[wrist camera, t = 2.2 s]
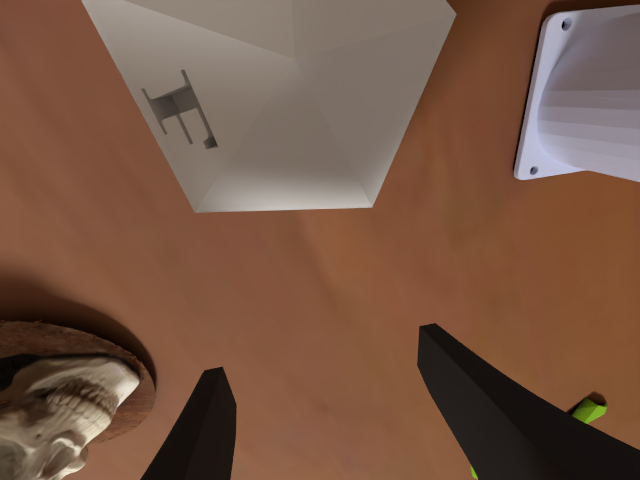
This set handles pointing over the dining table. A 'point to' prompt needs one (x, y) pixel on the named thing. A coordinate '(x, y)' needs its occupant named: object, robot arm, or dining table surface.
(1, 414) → the skull
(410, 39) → the die
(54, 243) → the dining table surface
